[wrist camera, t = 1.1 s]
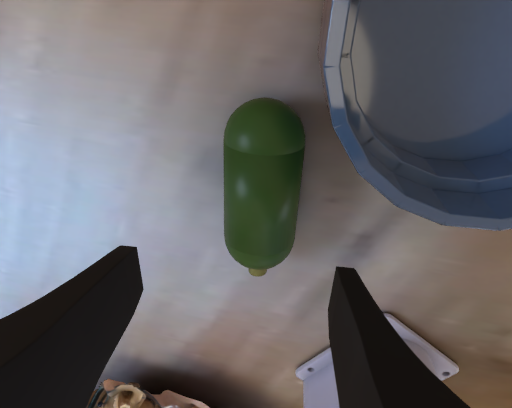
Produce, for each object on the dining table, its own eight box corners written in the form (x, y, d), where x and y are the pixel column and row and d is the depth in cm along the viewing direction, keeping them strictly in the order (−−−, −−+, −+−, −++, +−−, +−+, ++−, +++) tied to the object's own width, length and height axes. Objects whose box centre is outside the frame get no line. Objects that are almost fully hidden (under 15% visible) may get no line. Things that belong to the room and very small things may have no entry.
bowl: (444, 222, 21) (483, 283, 16) (258, 56, 18) (243, 74, 13) (742, 8, 15) (939, 12, 10) (541, -316, 11) (703, -530, 7)
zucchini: (285, 250, 23) (295, 293, 20) (225, 250, 23) (223, 294, 20) (302, 90, 18) (318, 111, 15) (224, 88, 18) (222, 109, 15)
